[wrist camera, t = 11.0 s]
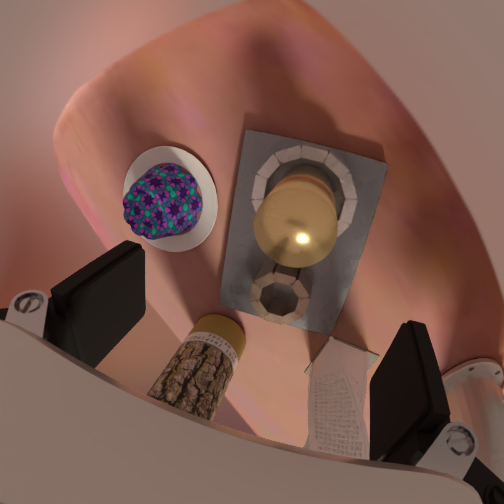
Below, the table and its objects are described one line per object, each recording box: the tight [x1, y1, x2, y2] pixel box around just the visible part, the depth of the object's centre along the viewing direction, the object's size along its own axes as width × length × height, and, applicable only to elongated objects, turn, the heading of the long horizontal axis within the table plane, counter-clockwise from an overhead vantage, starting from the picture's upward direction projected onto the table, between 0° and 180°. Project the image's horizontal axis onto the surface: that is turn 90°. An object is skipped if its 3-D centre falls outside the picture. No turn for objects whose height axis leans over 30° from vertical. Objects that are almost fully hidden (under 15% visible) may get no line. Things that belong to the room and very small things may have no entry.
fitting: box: [254, 166, 338, 268], centre depth 22 cm, size 5×5×10 cm
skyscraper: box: [303, 336, 379, 460], centre depth 23 cm, size 8×8×28 cm
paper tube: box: [147, 314, 246, 422], centre depth 27 cm, size 7×7×25 cm
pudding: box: [123, 146, 218, 252], centre depth 30 cm, size 12×12×5 cm
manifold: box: [219, 129, 388, 336], centre depth 28 cm, size 13×19×4 cm
